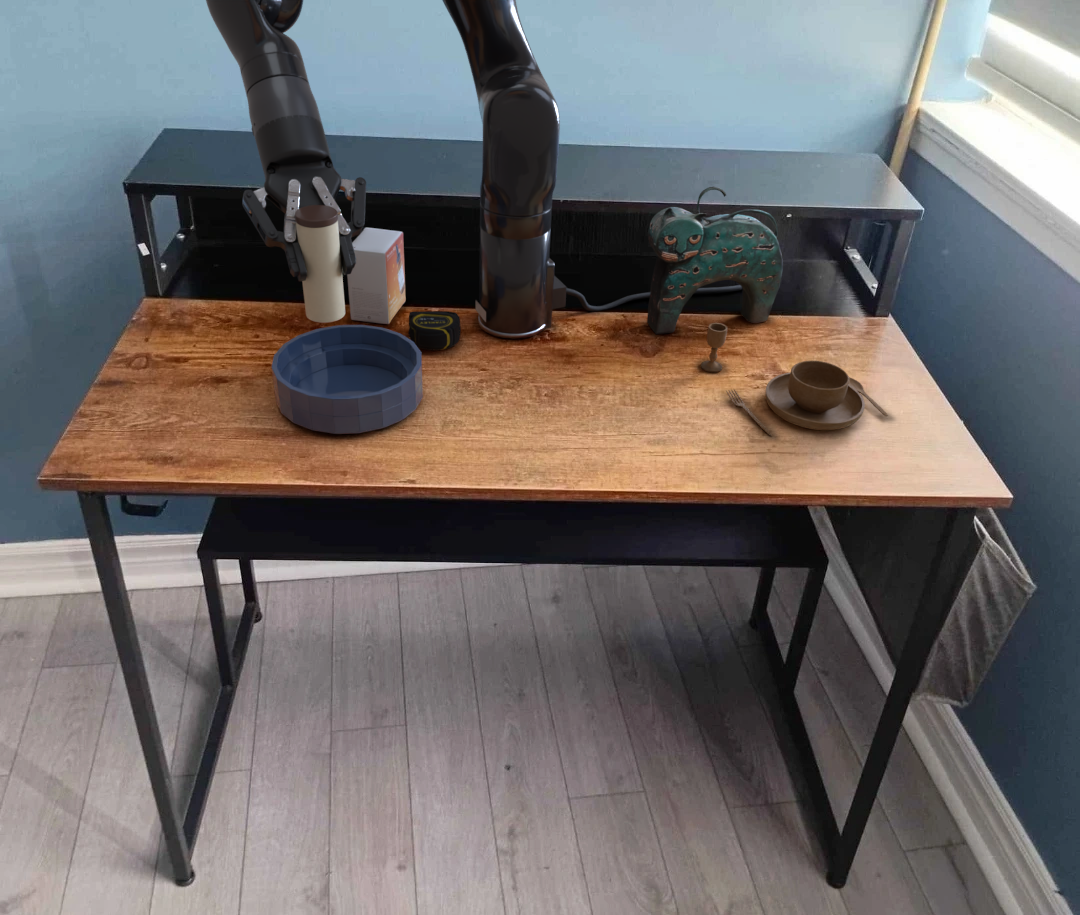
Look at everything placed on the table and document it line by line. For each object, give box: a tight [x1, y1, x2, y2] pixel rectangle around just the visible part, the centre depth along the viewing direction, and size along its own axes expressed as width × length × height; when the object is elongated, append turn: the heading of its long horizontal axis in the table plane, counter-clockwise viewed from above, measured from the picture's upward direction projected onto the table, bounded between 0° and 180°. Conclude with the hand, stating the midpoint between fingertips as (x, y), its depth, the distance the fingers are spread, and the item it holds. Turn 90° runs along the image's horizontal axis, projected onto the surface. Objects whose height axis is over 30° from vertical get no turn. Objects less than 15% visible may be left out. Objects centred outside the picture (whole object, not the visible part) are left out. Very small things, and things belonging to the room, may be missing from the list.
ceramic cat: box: [646, 186, 784, 335], centre depth 132 cm, size 20×6×20 cm, turn 106°
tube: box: [295, 205, 346, 324], centre depth 108 cm, size 4×4×12 cm
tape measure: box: [408, 310, 461, 351], centre depth 129 cm, size 7×7×4 cm
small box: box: [346, 227, 407, 325], centre depth 134 cm, size 8×6×10 cm
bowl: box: [271, 324, 424, 435], centre depth 116 cm, size 17×17×6 cm
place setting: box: [700, 322, 889, 437], centre depth 122 cm, size 18×20×6 cm
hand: (326, 274), depth 107 cm, fingers closed on tube, 4 cm apart
